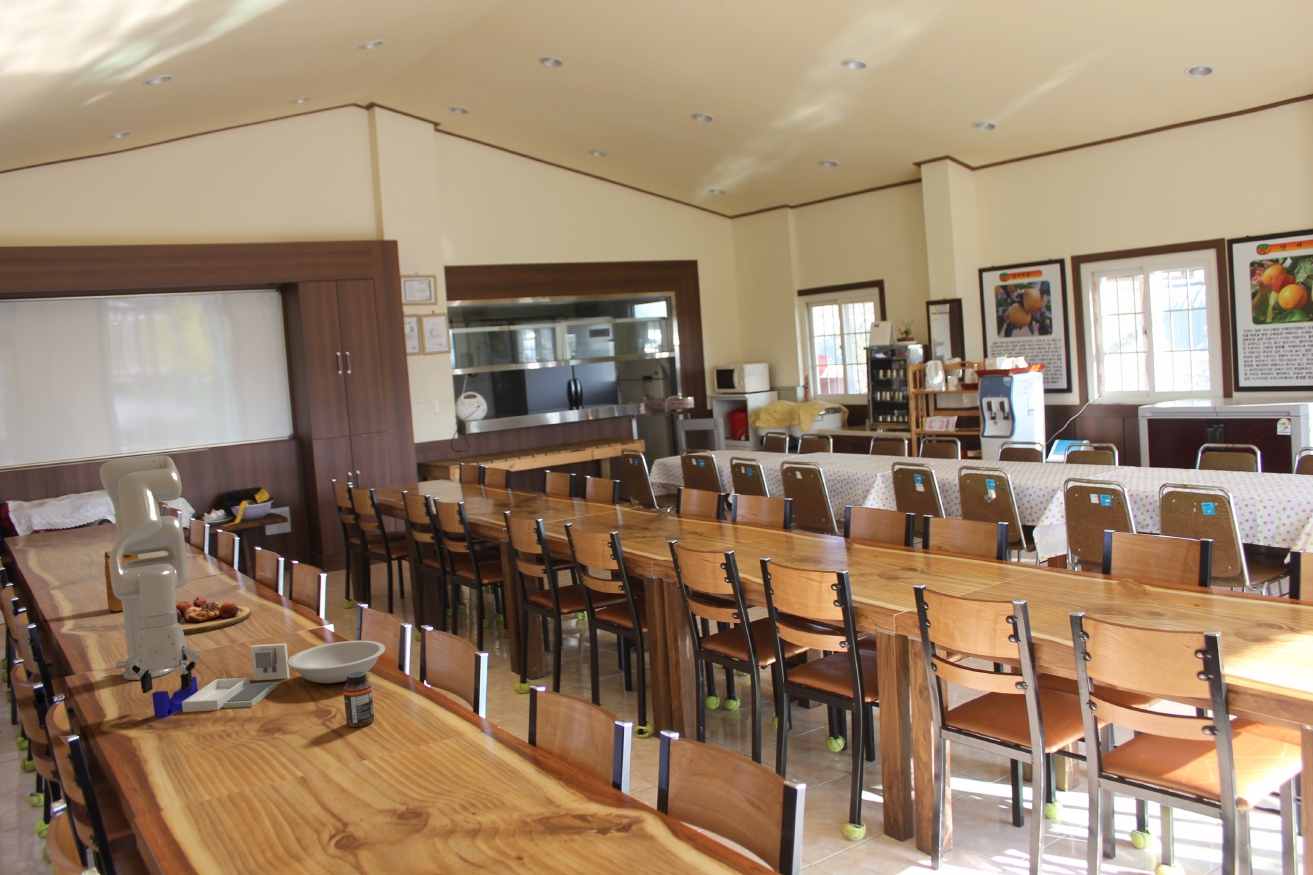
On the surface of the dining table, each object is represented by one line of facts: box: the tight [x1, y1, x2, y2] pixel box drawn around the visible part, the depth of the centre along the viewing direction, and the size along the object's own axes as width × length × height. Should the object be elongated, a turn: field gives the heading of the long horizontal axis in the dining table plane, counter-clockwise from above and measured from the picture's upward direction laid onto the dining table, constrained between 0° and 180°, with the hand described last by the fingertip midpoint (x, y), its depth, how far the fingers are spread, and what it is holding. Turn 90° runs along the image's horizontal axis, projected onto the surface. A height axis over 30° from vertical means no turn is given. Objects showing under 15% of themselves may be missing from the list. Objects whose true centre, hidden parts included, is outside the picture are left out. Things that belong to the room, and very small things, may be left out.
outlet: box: [250, 643, 291, 681], centre depth 247 cm, size 9×4×9 cm, turn 88°
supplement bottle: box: [342, 671, 375, 728], centre depth 211 cm, size 6×6×11 cm
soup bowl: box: [287, 640, 386, 684], centre depth 245 cm, size 24×24×7 cm
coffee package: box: [103, 550, 140, 612], centre depth 343 cm, size 10×12×22 cm
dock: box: [181, 677, 251, 713], centre depth 235 cm, size 9×17×2 cm, turn 178°
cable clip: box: [151, 675, 199, 719], centre depth 230 cm, size 12×4×6 cm, turn 171°
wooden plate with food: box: [176, 597, 252, 635], centre depth 315 cm, size 32×32×8 cm
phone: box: [222, 681, 278, 709], centre depth 235 cm, size 7×14×1 cm, turn 178°
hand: (167, 690), depth 229 cm, fingers open, 9 cm apart
